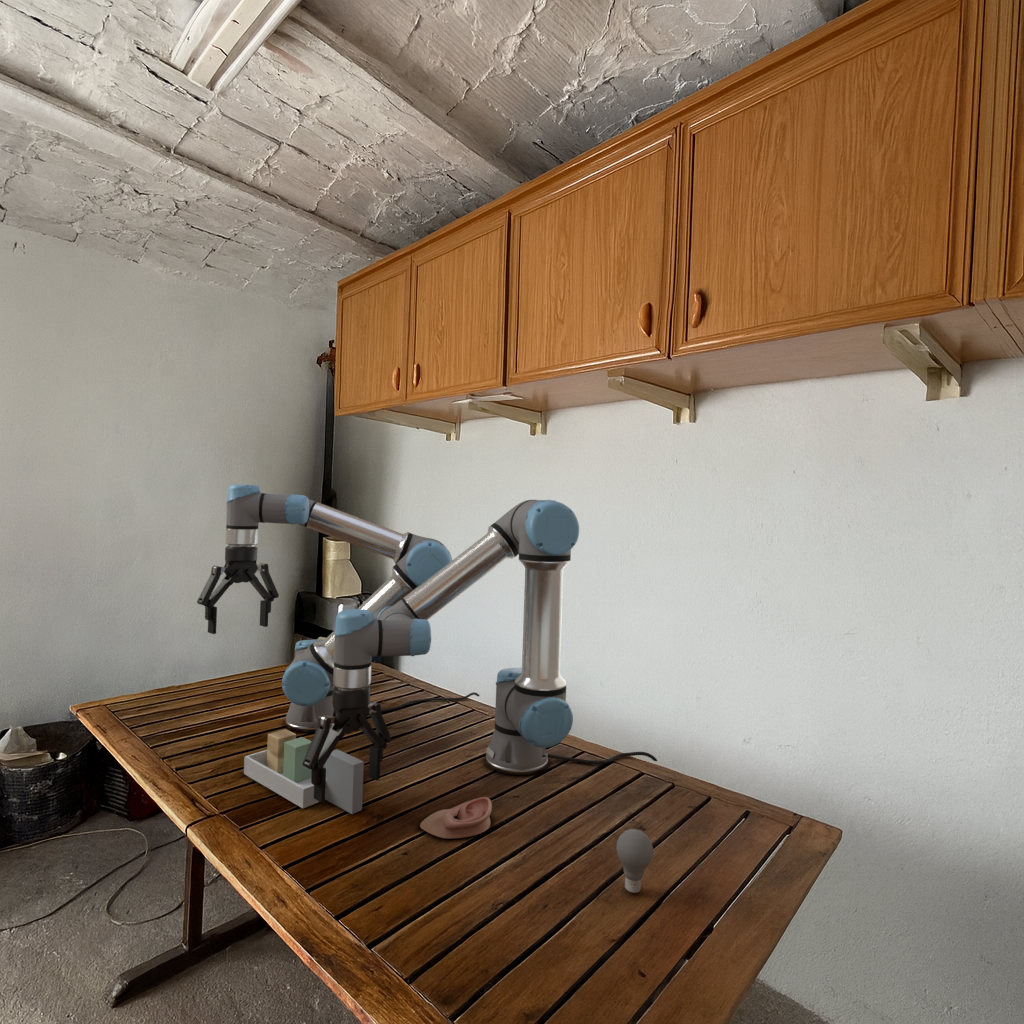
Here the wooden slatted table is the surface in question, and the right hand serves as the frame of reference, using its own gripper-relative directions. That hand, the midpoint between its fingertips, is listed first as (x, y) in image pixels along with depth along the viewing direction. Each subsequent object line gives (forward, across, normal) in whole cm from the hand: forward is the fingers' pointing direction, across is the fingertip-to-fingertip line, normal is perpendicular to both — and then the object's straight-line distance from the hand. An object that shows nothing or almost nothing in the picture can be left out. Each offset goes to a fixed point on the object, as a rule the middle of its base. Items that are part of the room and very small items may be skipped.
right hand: (347, 788), depth 130 cm
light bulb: (+4, -15, +58) cm, 59 cm away
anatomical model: (+4, -10, +21) cm, 24 cm away
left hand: (-25, -1, -48) cm, 54 cm away
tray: (+4, 0, -13) cm, 13 cm away
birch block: (+3, 0, -25) cm, 25 cm away
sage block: (+3, 0, -18) cm, 18 cm away
